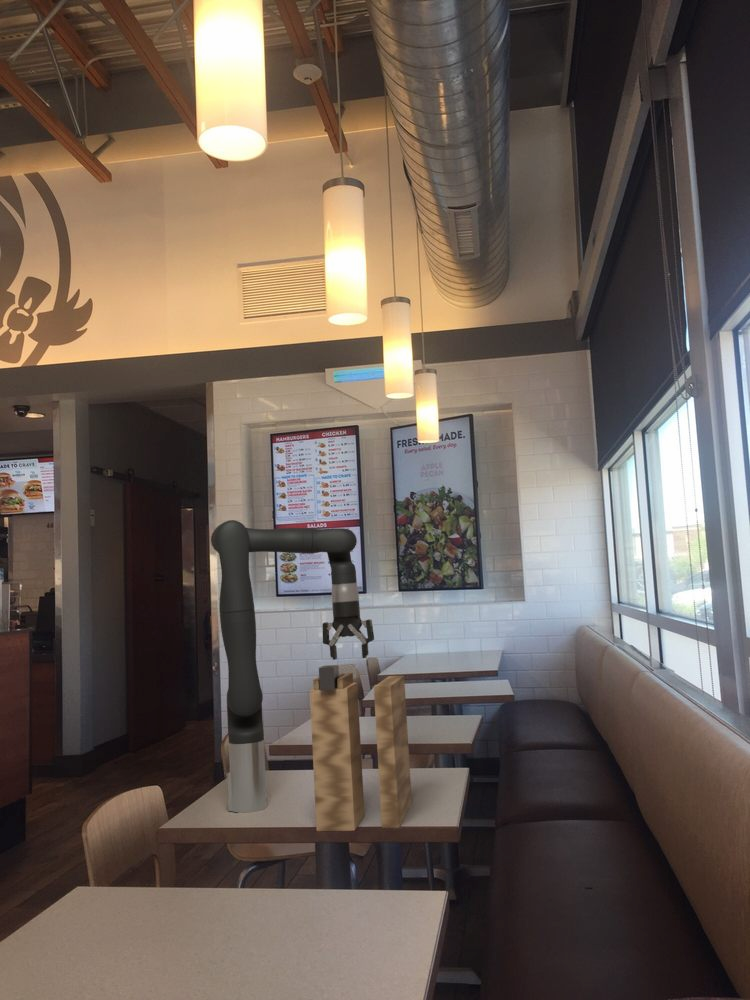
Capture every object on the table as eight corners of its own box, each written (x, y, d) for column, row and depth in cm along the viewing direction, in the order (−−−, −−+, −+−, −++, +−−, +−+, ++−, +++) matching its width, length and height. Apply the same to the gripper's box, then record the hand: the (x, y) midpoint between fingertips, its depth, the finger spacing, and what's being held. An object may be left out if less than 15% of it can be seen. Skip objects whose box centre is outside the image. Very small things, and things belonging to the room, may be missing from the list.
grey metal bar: (334, 689, 193) (333, 667, 194) (319, 690, 194) (318, 667, 194) (356, 677, 218) (355, 657, 218) (342, 678, 218) (341, 658, 219)
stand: (316, 830, 192) (309, 679, 196) (339, 803, 215) (332, 669, 219) (397, 830, 189) (388, 676, 192) (411, 802, 212) (403, 666, 216)
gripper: (317, 602, 230) (321, 661, 229) (367, 598, 227) (371, 658, 226) (324, 601, 238) (328, 658, 236) (373, 597, 235) (377, 655, 233)
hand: (349, 658), depth 231 cm, fingers open, 8 cm apart
